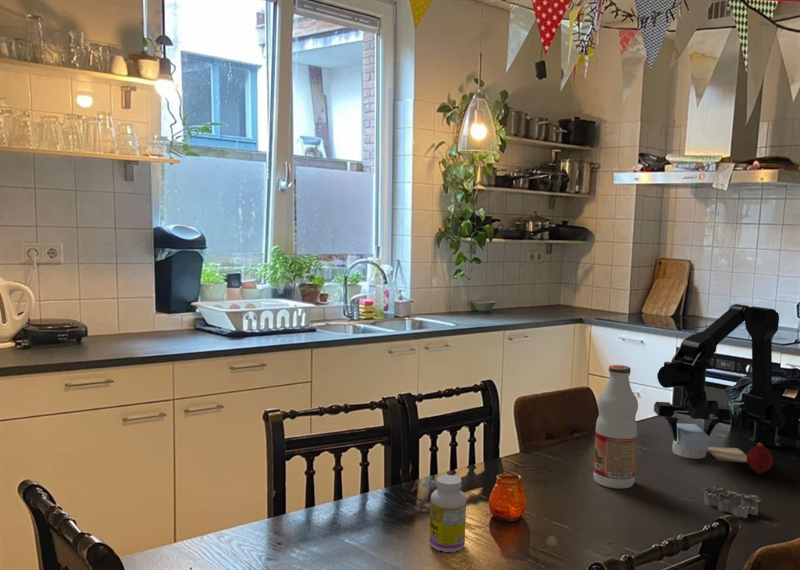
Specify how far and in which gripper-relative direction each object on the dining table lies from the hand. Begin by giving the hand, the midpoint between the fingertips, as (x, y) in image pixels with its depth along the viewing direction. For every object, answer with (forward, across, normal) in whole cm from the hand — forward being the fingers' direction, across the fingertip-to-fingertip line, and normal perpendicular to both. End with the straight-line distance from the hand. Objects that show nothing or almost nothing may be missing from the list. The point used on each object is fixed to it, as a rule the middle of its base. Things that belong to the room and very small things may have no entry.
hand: (690, 441), depth 187 cm
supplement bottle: (+4, -63, -66) cm, 91 cm away
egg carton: (+4, -2, -37) cm, 38 cm away
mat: (+3, +10, +1) cm, 11 cm away
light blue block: (+1, 0, 0) cm, 1 cm away
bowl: (+3, 0, 0) cm, 3 cm away
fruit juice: (+4, -25, -26) cm, 36 cm away
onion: (+4, +13, -13) cm, 19 cm away
